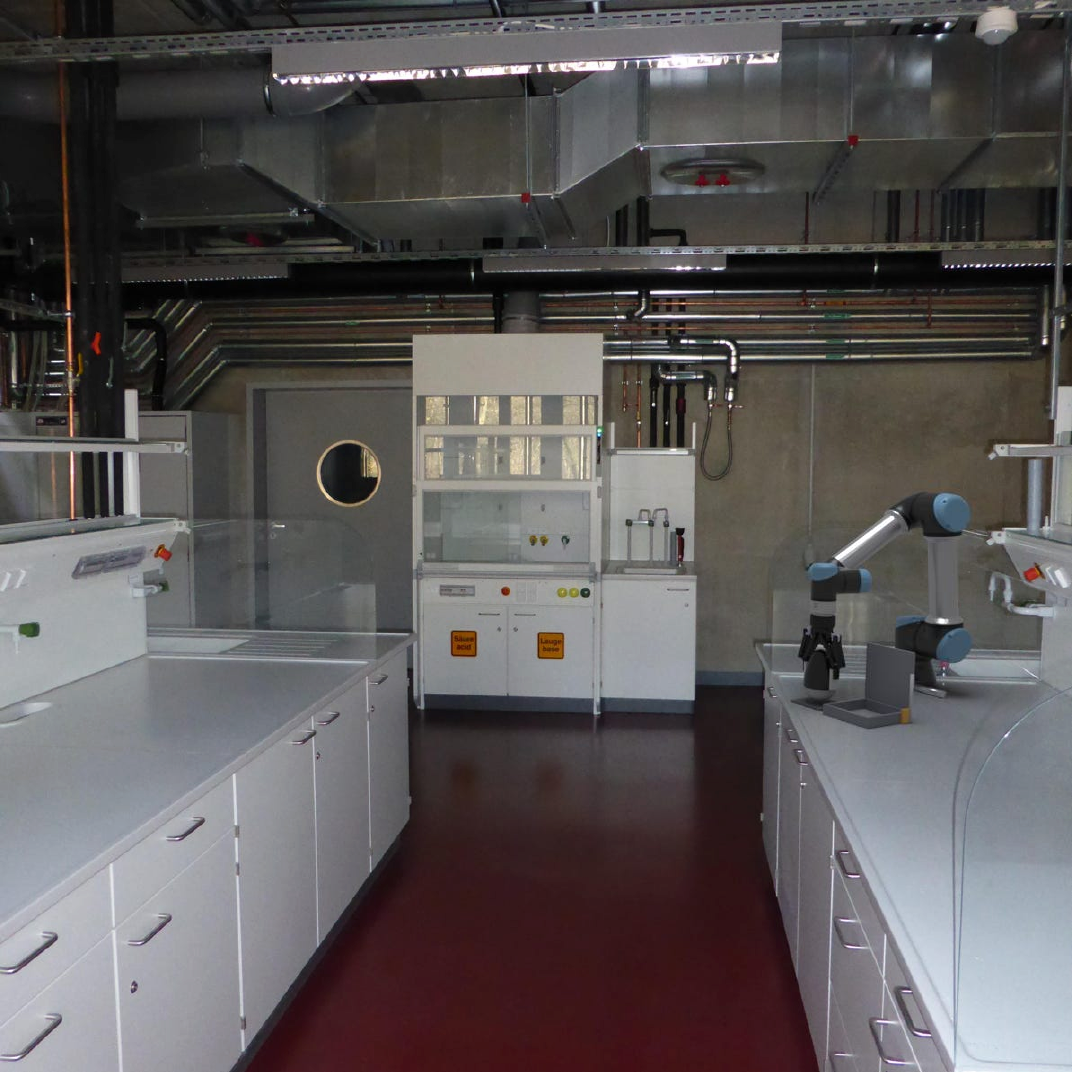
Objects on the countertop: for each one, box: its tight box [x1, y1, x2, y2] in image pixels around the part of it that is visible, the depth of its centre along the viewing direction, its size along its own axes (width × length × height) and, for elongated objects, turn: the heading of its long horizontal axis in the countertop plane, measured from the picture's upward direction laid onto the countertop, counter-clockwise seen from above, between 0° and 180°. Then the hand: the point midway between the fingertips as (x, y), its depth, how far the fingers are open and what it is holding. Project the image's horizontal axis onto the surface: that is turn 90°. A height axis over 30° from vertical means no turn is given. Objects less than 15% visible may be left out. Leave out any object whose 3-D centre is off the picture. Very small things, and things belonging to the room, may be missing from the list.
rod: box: [913, 683, 948, 699], centre depth 308 cm, size 12×2×2 cm, turn 28°
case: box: [822, 641, 915, 730], centre depth 277 cm, size 18×18×20 cm
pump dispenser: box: [802, 648, 837, 700], centre depth 292 cm, size 10×10×15 cm
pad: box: [790, 696, 838, 712], centre depth 293 cm, size 12×12×1 cm
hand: (820, 685), depth 293 cm, fingers closed on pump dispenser, 10 cm apart
